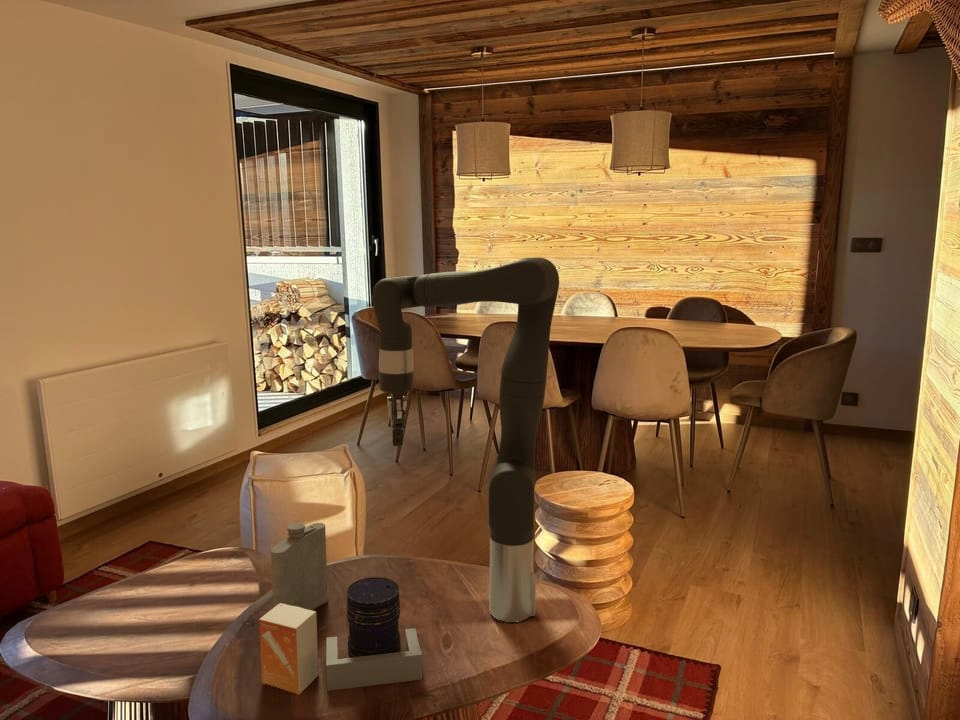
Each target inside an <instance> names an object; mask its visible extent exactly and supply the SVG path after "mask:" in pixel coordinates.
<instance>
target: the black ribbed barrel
mask: <svg viewBox="0 0 960 720" xmlns="http://www.w3.org/2000/svg"><path fill="white" fill-rule="evenodd" d="M400 608H401V599H400V586H399V584H398V582H396V581H395V580H393V579H390V578H389V577H388V578H387V577H381V576H380V577H379V576H371V577H365V578H361V579H358V580H356V581H354V582H352V583H351V584H350V585H349V586H348V587H347V589H346V618H347V622H348V633H349V634H348V635H347V642H346V643H347V655H348V658H353V657H362V656H370V655H379V654H388V653H397V652H401V650H402V648H401V647H402V646H401V645H402V643H401V633H400V629H399V628H400V627H399V619H400V617H401V616H400V615H401V609H400Z"/></svg>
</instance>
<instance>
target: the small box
mask: <svg viewBox="0 0 960 720" xmlns="http://www.w3.org/2000/svg"><path fill="white" fill-rule="evenodd" d="M258 620H259V621H258V622H259V623H258V624H259V643H260V647H259V648H260V665H261V666H260V667H261V684H262V683H264V684H268V685H271V686H270V687H272V686H274V687H273V688H275V687H277V688H276V689H279V688H280V689H279V690H282V689H283V691H287V692H289V693H293V694H295V695H300V694H302V692H303V691H304V690H305V689H307V688H308V687H309V685H310V684H311V683H312V682H314V680H315V679H316V678H317V677H318V676H319V653H318V652H319V651H318V650H319V648H318V626H317V624H318V623H317V622H318V621H317V611H315V610H308V609H304V608H301V607H297V606H291V605H286V604H282V603H280V604H278V605H277V606H275V607H273V608H272V609H270V610H269V611H268V612H267V613H265V614H264V615H263V616H261V617H260V618H259V619H258ZM264 684H263V685H264ZM268 685H267V686H268Z"/></svg>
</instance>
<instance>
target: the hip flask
mask: <svg viewBox="0 0 960 720" xmlns="http://www.w3.org/2000/svg"><path fill="white" fill-rule="evenodd" d="M286 531H287V532H288V536H286V537H284V538H283V539H282V540H281V541H279V542H278V543H276V545H274V546H273V547H272V548H270V563H271V564H270V565H271V581H272V583H271V584H272V587H271V588H272V602H273V603H272V604H273V608H274V607H275V606H277V605H278V604H280V603H282V604H286V605H291V606H297V607H301V608H304V609H308V610H312V611H315V610H316V609H317V608H318V607H321V606H322V605H323V604H326V603H327V602H328V601H329V597H328V596H329V591H328V590H329V589H328V569H327V568H328V567H327V566H328V565H327V538H326V537H327V535H326V534H327V533H326V524H325V523H323V522H316V523H315V522H314V523H312V524H309V525H307V526H306V525H305V523H304V522H299V521H298V522H292V523H289V524H288V525H287V526H286Z"/></svg>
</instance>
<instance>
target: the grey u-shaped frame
mask: <svg viewBox="0 0 960 720" xmlns="http://www.w3.org/2000/svg"><path fill="white" fill-rule="evenodd" d="M404 634H405V636H404V640H405V642H404V643H405V644H404V645H405V651H400V652H397V653H388V654H379V655H370V656H362V657H353V658H349V657H346V658H339V654H338V651H339V649H338V636H330V637H326V652H325V653H326V660H325V666H326V668H325V670H326V691H327V692H328V691H338V690H343V689H353V688H354V689H355V688H361V687H362V688H363V687H368V686H369V687H370V686H378V685H379V686H380V685H385V684H393V683H395V684H397V683H403V682H404V683H405V682H411V681H419V680H423V654H422V653H423V652H422V649H420V648H421V647H420V643H419V639H418V634H417V630H416V628H405V629H404Z"/></svg>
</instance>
